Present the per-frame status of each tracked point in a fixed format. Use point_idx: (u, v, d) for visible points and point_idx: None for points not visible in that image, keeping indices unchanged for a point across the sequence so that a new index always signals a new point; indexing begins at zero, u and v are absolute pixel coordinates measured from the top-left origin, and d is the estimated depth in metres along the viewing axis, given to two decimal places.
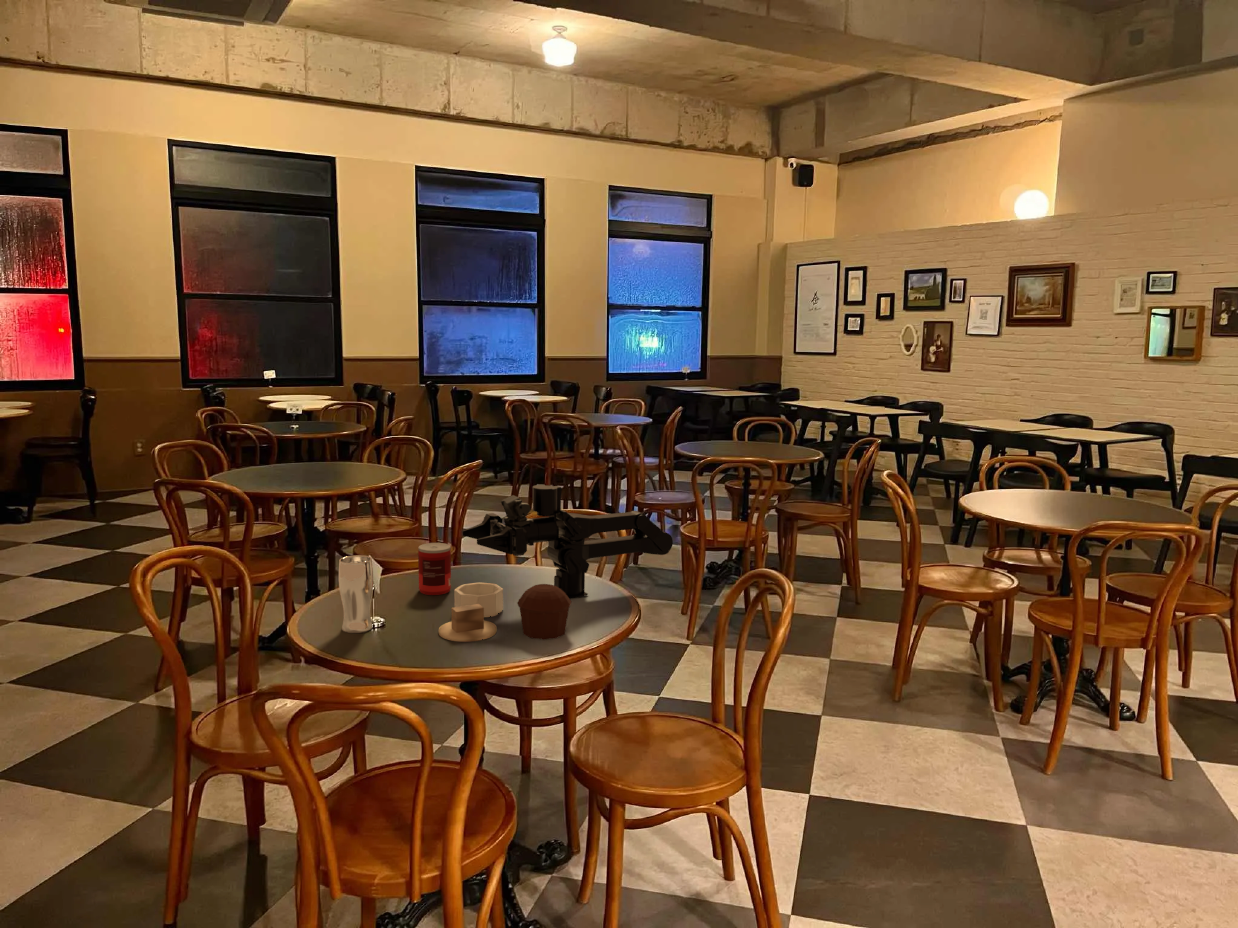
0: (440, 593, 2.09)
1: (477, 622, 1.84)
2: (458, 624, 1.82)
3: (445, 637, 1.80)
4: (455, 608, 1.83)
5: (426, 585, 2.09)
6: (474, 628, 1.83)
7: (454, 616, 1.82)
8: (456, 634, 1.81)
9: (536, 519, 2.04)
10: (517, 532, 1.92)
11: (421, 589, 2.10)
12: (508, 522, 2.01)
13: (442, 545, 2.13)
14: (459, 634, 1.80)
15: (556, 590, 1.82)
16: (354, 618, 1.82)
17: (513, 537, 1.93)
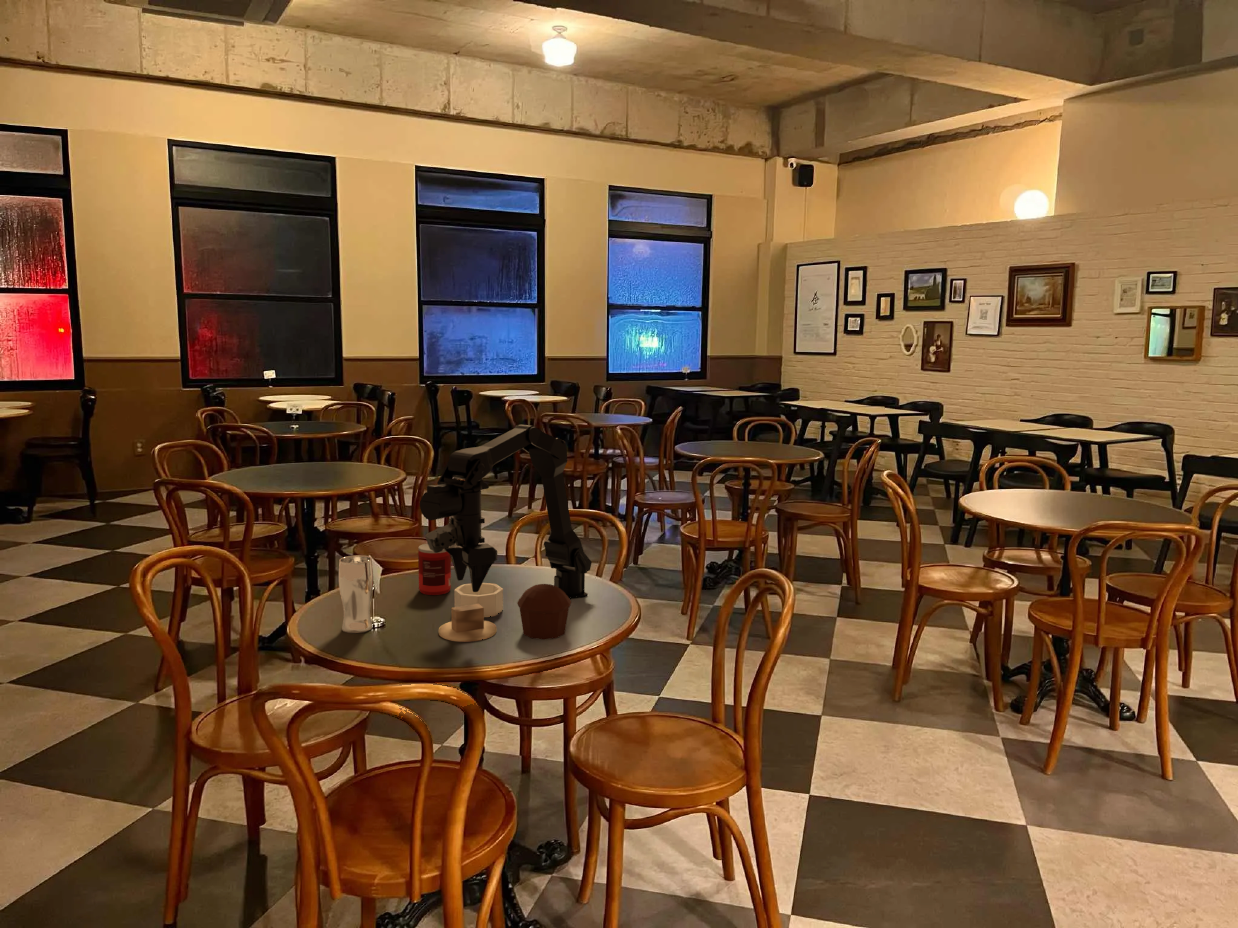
0: (440, 593, 2.09)
1: (477, 622, 1.84)
2: (458, 624, 1.82)
3: (445, 637, 1.80)
4: (455, 608, 1.83)
5: (426, 585, 2.09)
6: (474, 628, 1.83)
7: (454, 616, 1.82)
8: (456, 634, 1.81)
9: (459, 512, 1.78)
10: (472, 562, 1.73)
11: (421, 589, 2.10)
12: None
13: None
14: (459, 634, 1.80)
15: (556, 590, 1.82)
16: (354, 618, 1.82)
17: None
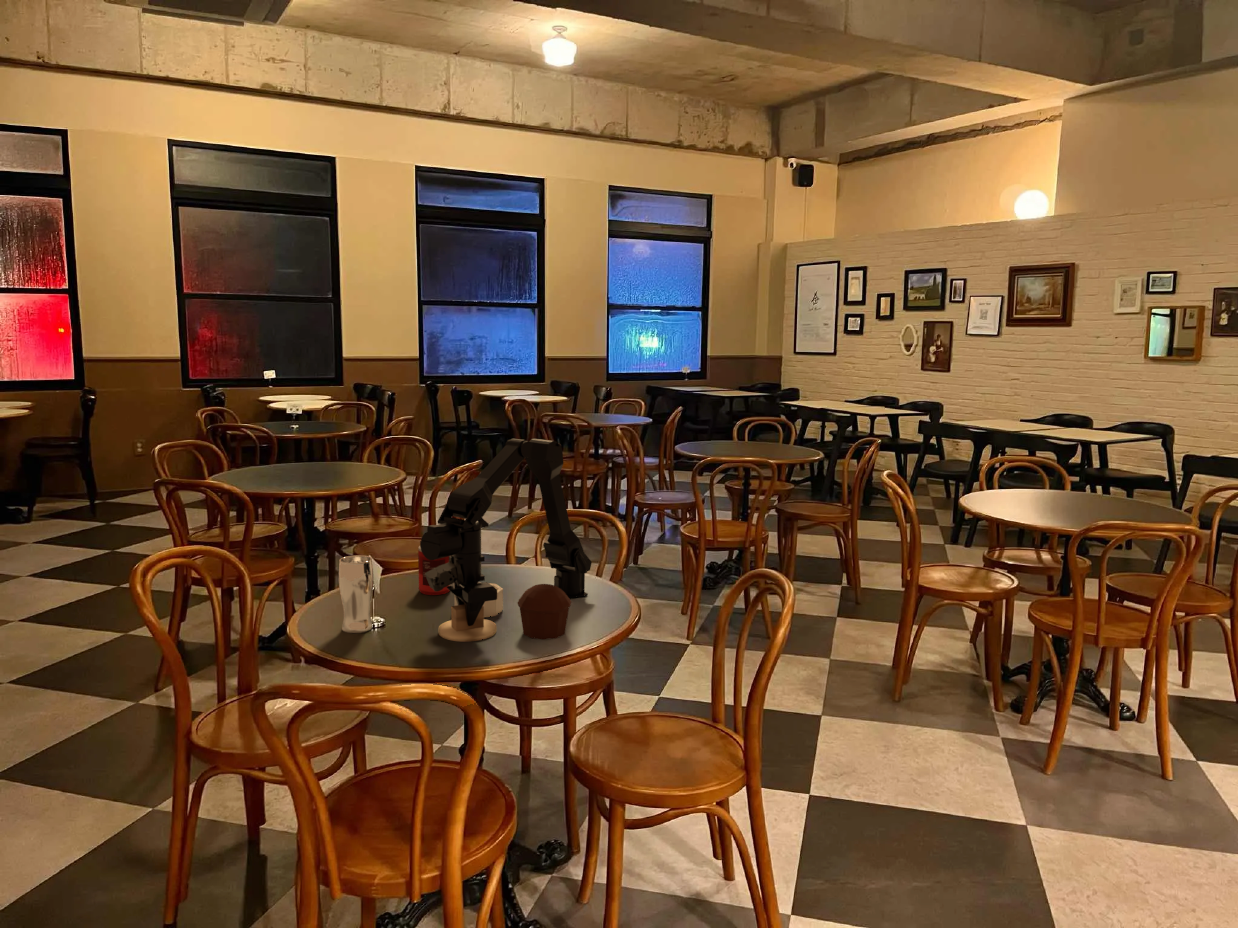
0: (440, 593, 2.09)
1: (477, 621, 1.84)
2: (458, 623, 1.81)
3: (445, 635, 1.80)
4: (455, 606, 1.83)
5: (426, 585, 2.09)
6: (474, 626, 1.83)
7: (454, 614, 1.82)
8: (456, 632, 1.81)
9: (459, 551, 1.79)
10: (472, 601, 1.74)
11: (421, 589, 2.10)
12: None
13: None
14: (459, 633, 1.80)
15: (556, 590, 1.82)
16: (354, 618, 1.82)
17: None
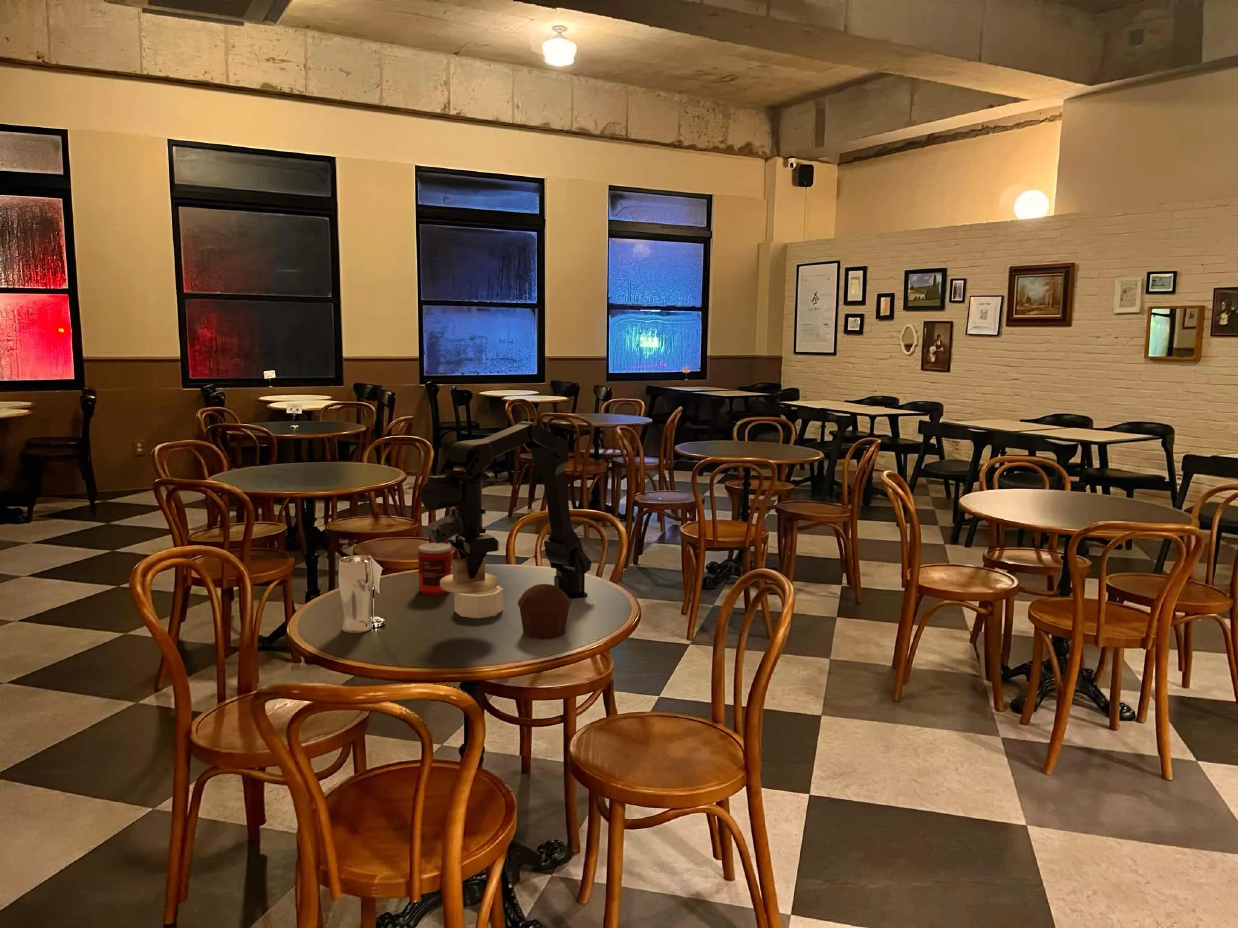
0: (440, 593, 2.09)
1: (479, 574, 1.83)
2: (459, 575, 1.81)
3: (446, 588, 1.79)
4: (456, 560, 1.83)
5: (426, 585, 2.09)
6: (475, 580, 1.83)
7: (455, 567, 1.82)
8: (458, 585, 1.80)
9: (460, 503, 1.79)
10: (474, 552, 1.74)
11: (421, 589, 2.10)
12: None
13: (442, 545, 2.13)
14: (461, 585, 1.80)
15: (556, 590, 1.82)
16: (354, 618, 1.82)
17: None
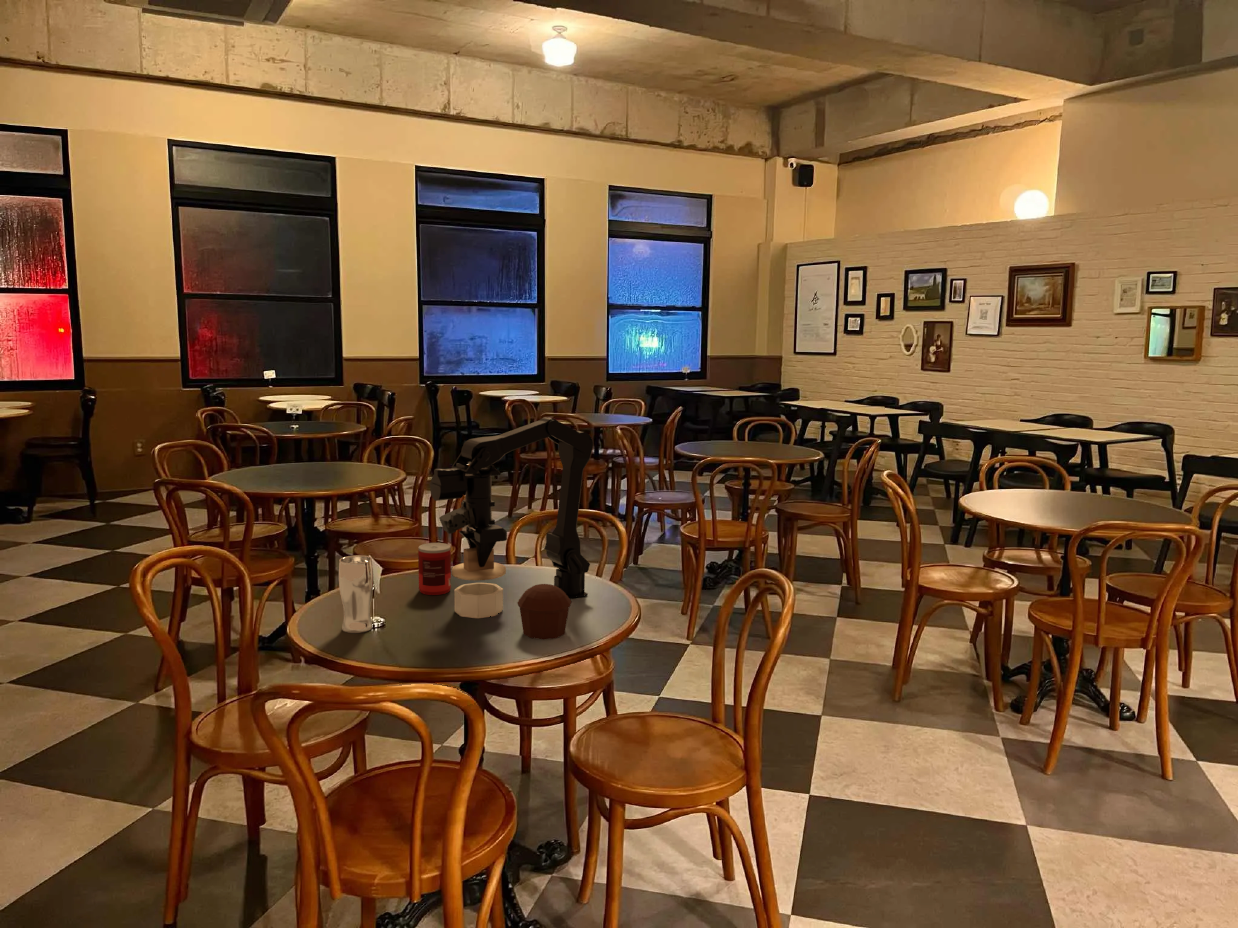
0: (440, 593, 2.09)
1: (488, 562, 1.96)
2: (470, 564, 1.94)
3: (458, 575, 1.92)
4: (467, 549, 1.95)
5: (426, 585, 2.09)
6: (485, 568, 1.96)
7: (466, 556, 1.94)
8: (468, 572, 1.93)
9: (468, 495, 1.92)
10: (484, 541, 1.86)
11: (421, 589, 2.10)
12: None
13: (442, 545, 2.13)
14: (471, 573, 1.93)
15: (556, 590, 1.82)
16: (354, 618, 1.82)
17: None
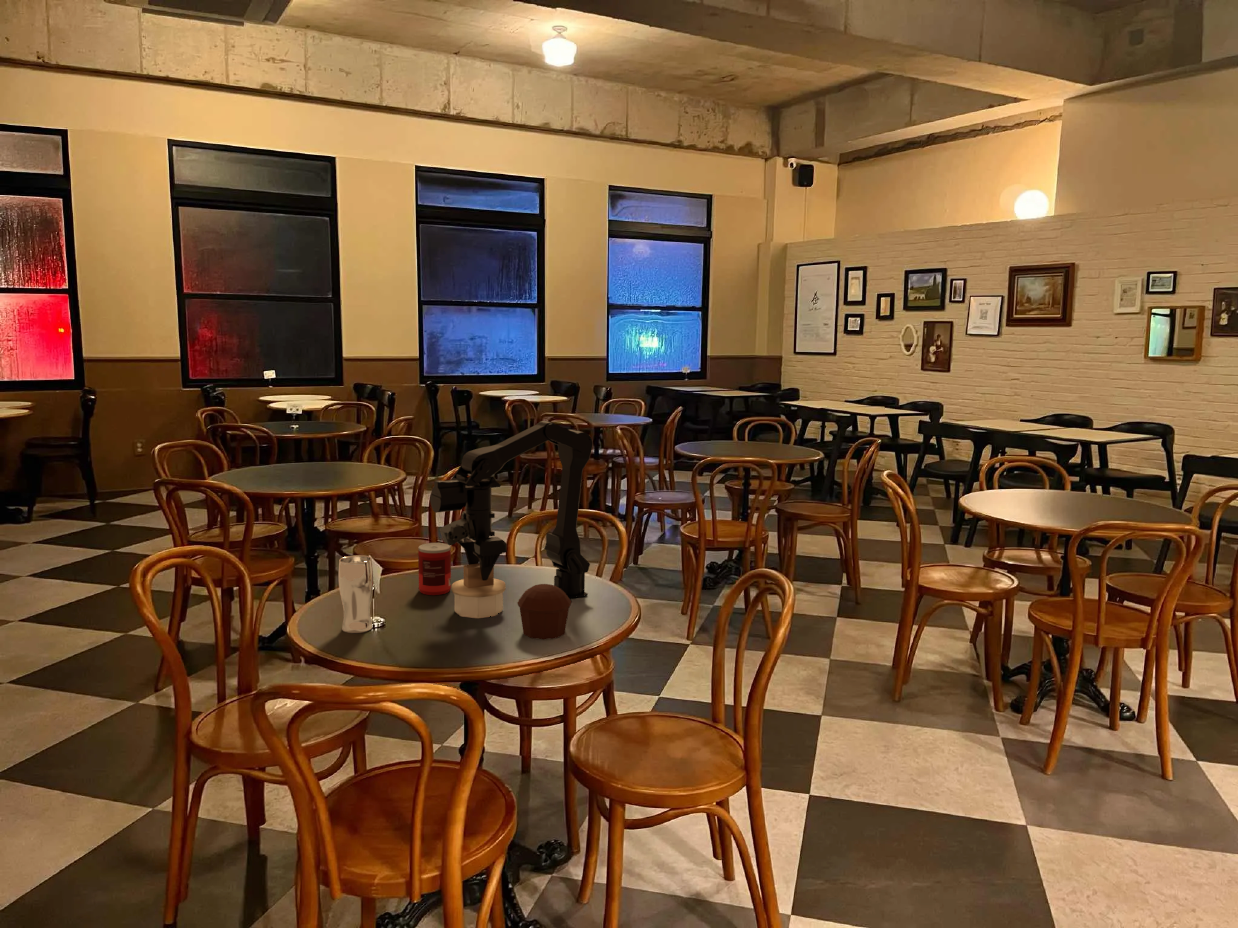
0: (440, 593, 2.09)
1: (488, 579, 1.97)
2: (470, 580, 1.94)
3: (458, 592, 1.93)
4: (467, 565, 1.96)
5: (426, 585, 2.09)
6: (485, 584, 1.96)
7: (466, 573, 1.95)
8: (468, 589, 1.94)
9: (468, 507, 1.93)
10: (483, 553, 1.87)
11: (421, 589, 2.10)
12: None
13: (442, 545, 2.13)
14: (471, 589, 1.93)
15: (556, 590, 1.82)
16: (354, 618, 1.82)
17: None
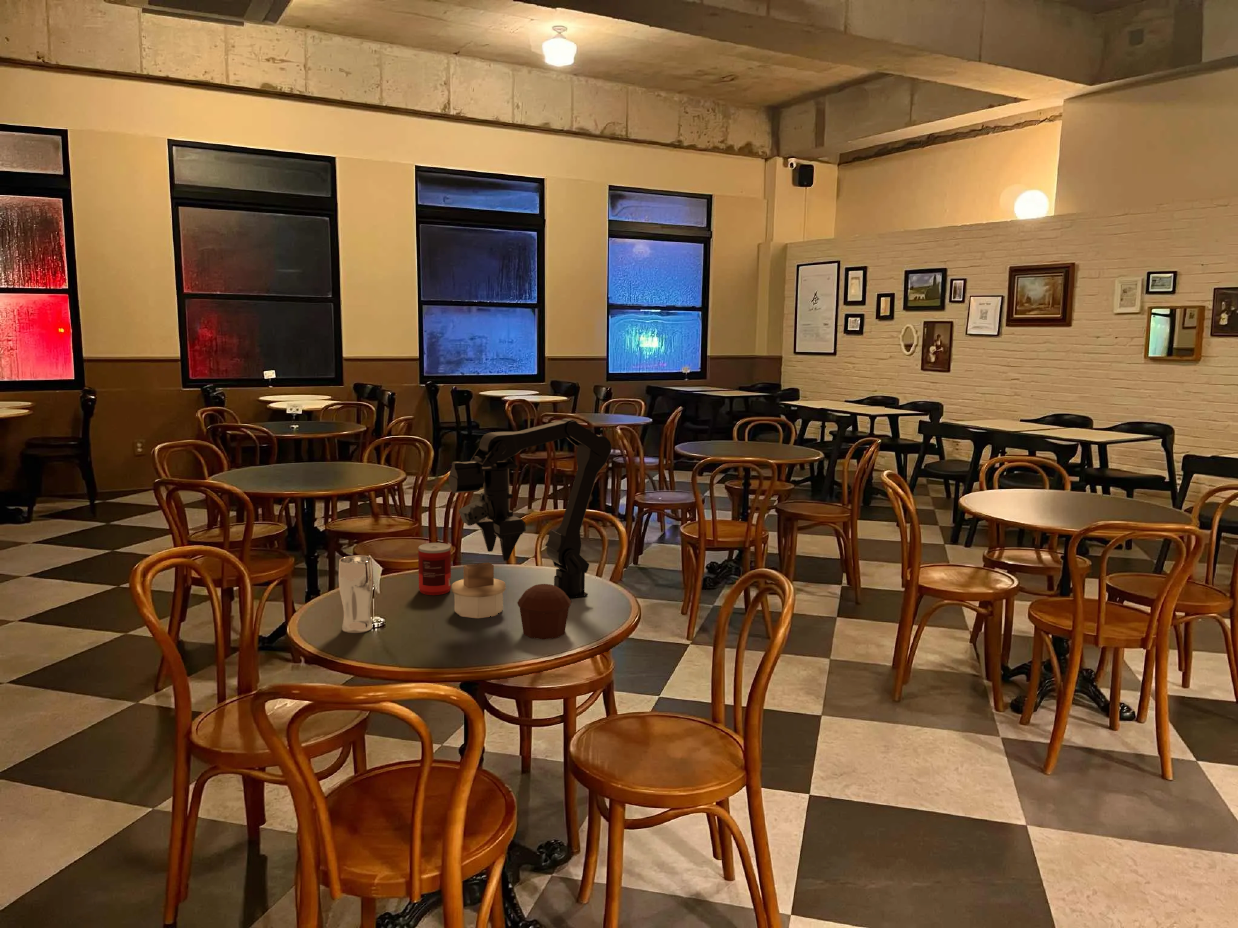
0: (440, 593, 2.09)
1: (488, 579, 1.97)
2: (470, 580, 1.94)
3: (458, 592, 1.93)
4: (467, 565, 1.96)
5: (426, 585, 2.09)
6: (485, 584, 1.96)
7: (466, 573, 1.95)
8: (468, 589, 1.94)
9: (486, 488, 1.96)
10: (503, 533, 1.90)
11: (421, 589, 2.10)
12: None
13: (442, 545, 2.13)
14: (471, 589, 1.93)
15: (556, 590, 1.82)
16: (354, 618, 1.82)
17: None
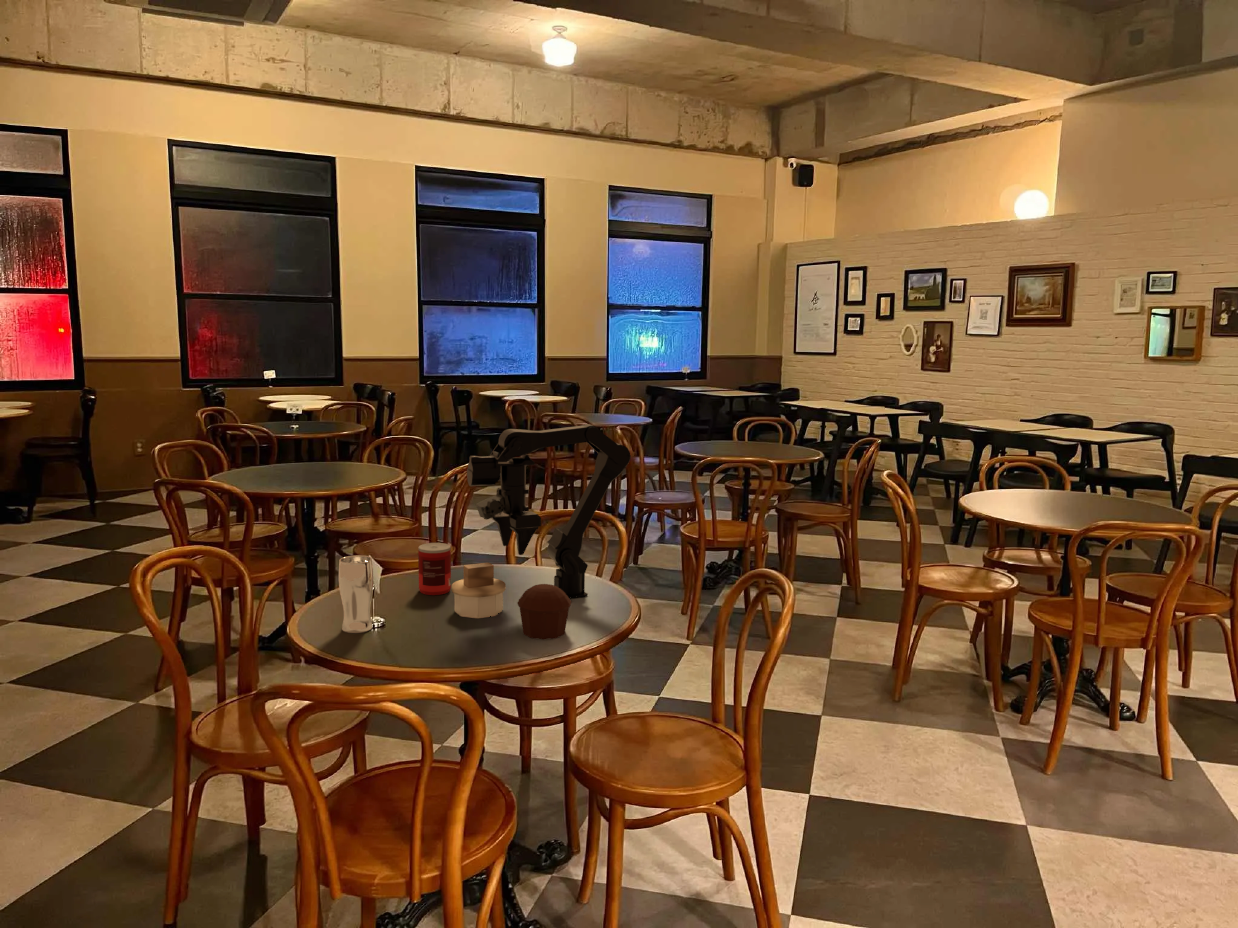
0: (440, 593, 2.09)
1: (488, 579, 1.97)
2: (470, 580, 1.94)
3: (458, 592, 1.93)
4: (467, 565, 1.96)
5: (426, 585, 2.09)
6: (485, 584, 1.96)
7: (466, 573, 1.95)
8: (468, 589, 1.94)
9: (502, 483, 2.01)
10: (519, 527, 1.94)
11: (421, 589, 2.10)
12: None
13: (442, 545, 2.13)
14: (471, 589, 1.93)
15: (556, 590, 1.82)
16: (354, 618, 1.82)
17: None
